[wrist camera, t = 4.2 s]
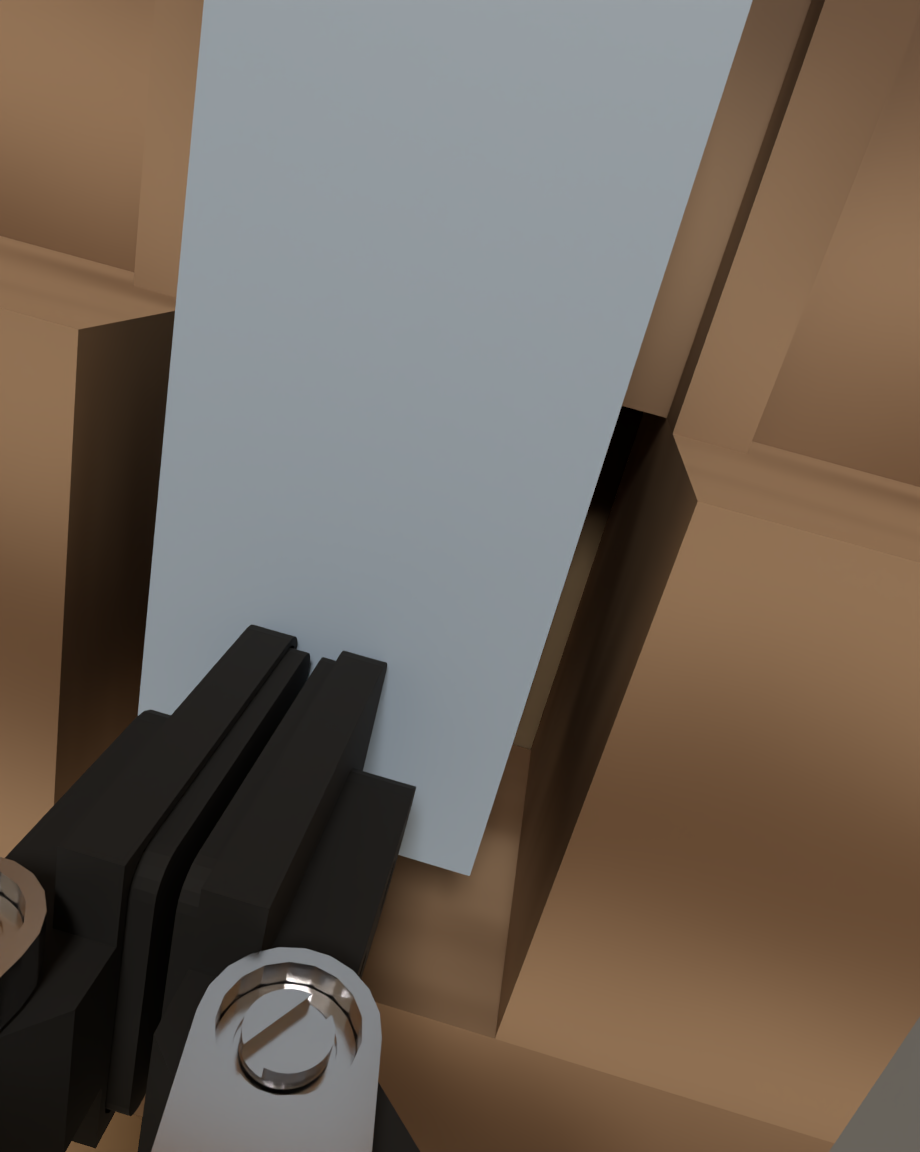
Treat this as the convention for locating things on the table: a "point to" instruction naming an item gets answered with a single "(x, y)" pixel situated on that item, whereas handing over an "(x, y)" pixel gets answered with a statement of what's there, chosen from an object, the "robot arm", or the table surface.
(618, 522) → the jig
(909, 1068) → the mat
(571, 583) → the table surface
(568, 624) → the table surface
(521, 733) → the table surface
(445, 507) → the bar
